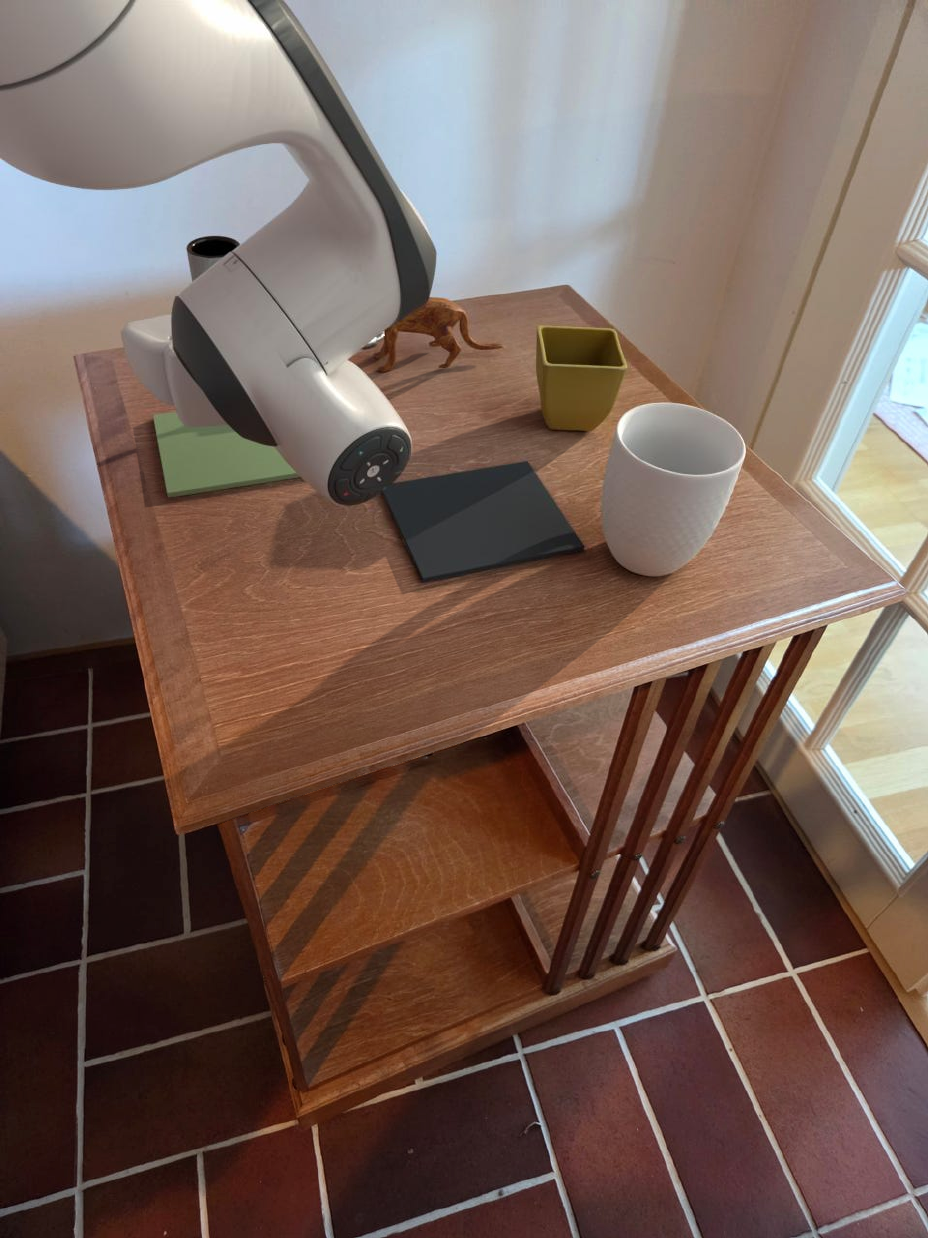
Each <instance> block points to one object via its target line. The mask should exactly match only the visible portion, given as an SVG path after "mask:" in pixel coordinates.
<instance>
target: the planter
mask: <svg viewBox="0 0 928 1238" xmlns="http://www.w3.org/2000/svg"><path fill="white" fill-rule="evenodd" d="M239 245H241V243H240V242H239V241H238V240H236V239H235V238H233V237H228V236H225V235H224V236H223V235H207V236H200V237H197V238H195V239H192V240H191V241H190V242H189V243H187V245H186V255H187V261H188V266H189V271H190V275H191V276H190V277H191V283H192V282H193V281H194V280H195V279H197V278H198V277H199V276H200V275H202V274H203V273H204V272H205V271H207V270H208V269H209V268H210V267H212V266H213V265H214V264H215V263H217V262H218V261H219V260H220V259H222V258H223V257H224V256H225V255H227V254H228V253H229V252H232V251H233V250H234V249H235V248H237V247H238V246H239Z"/></svg>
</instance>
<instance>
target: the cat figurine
mask: <svg viewBox="0 0 928 1238" xmlns="http://www.w3.org/2000/svg"><path fill="white" fill-rule="evenodd" d="M458 322H459V323H458ZM457 324H459V332H460V335H461V337H462V339H463V341H464V342H465V344H466V345H467V346H469V348H472V349H474V350H479V351H490V350H500V349H503V348H504V347H505V346H504V344H503V343H497V342H495V343H483V342H479V341H477V340H474V339H473V338H472V337H471V335H470V331H469V319H468V315H467V313H466V311H465V310H464V309H463V307H461V306H460V305H459V304H457V303H456V302H454V301H452V300H450V299H447V298H444V297H435V296H434V297H433V296H430V297H429V300H428V302H427V303H426V304H425V305H423V306H422V307H420V308H419V309H417V310H416V311H414V312H413V313H411V314H410V315H408V316H407V317H405V318H404V319H402V320H401V321H399V322H398V323H396V324H395V325H393V326H392V327H389V328H387V329H385V330H384V331H385V336H384V338H383V344H382V345H381V348H380V350H379V351H377V352H374V353H373V357H374V358H376V359H382V358H385V357H387V356H388V358H387V360H386V361H385V363H384V365H382V366H379V367H378V368H377V370H378V371H379V372H383V373H384V372H388V371H390V370H391V369H392V368H393V367H394V366H395V364H396V359H397V351H396V350H397V349H396V344H397V339H398V335H399V333H398V332H402V333H413V334H421V335H427V336H430V337H432V338H434V340H431V341H429V342H428V345H429V347H432V348H438V347H441V348H442V349H444V350H445V351H447V352H448V356H447V358H446V360H445V363H442V364H439V366H438V368H439V369H447V368H450V366H451V365H452V363H453V362H454V361H455V360H456V359H457V357H458V356H459V355H460V353H461V351H462V347H461V346H460V344H459V342H458V341H457V339H456V337H455V335H454V333H453V332H452V330H453V329H454V327H455V326H456V325H457Z"/></svg>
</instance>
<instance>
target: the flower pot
mask: <svg viewBox="0 0 928 1238" xmlns="http://www.w3.org/2000/svg"><path fill="white" fill-rule="evenodd" d="M535 343H536V349H535V350H536V352H535V372H536V380H537V387H538V392H539V398H540V405H541V412H542V416H543V419H544V421H545V424H546V425H547V428H548V429H550V430H554V431H555V430H556V431H581V432H582V431H583V432H592V431H594V430H595V429H596V428H598V427H599V426H600V425H601V424H602V423H603V422H605V420H607V418H608V417H609V415H610V413H611V412H612V410H613V408H614V406H615V404H616V401H617V398H618V395H619V393H620V390H621V387H622V385H623V382H624V379H625V376H626V373H627V370H628V364H627V360H626V359H625V356H624V353H623V351H622V348H621V344H620V340H619V336H618V333H617V331H616V329H615V328H609V327H608V328H607V327H604V328H603V327H585V326H564V325H563V326H562V325H538V326H537V327H536V342H535Z"/></svg>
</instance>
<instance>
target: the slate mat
mask: <svg viewBox="0 0 928 1238" xmlns="http://www.w3.org/2000/svg"><path fill="white" fill-rule="evenodd" d="M381 494H382V497H383V498H384V499H383V500H384V501H385V504H386V505H387V507H388V510H389V512H390V514H391V515H392V518H393V519H392V520H393V521H394V523H395V525H396V528H397V529H398V531H399V534H400V536H401V538H402V540H403V542H404V545H405V547H406V550H407V551H408V554H409V556H410V558H411V560H412V563H413V564H414V567H415V570H416V571H417V573H418V576H419V577H420V580H421V582H422V583H423V584H424V583H430V582H435V581H438V580H445V579H448V578H454V577H459V576H464V575H469V574H474V573H478V572H479V573H480V572H484V571H488V570H494V569H500V568H504V567H509V566H514V565H518V564H523V563H529V562H534V561H539V560H544V559H549V558H554V557H559V556H563V555H567V554H574V553H580V552H584V550H585V548H586V547H585V545H584V543H583V542H582V540H581V538H580V537H579V536H578V534H577V533H576V530H575V529H574V528H573V527H572V525H571V524H570V523H569V520H568V519H567V518H566V516H565V515H564V513H563V512H562V510H561V508H560V507H559V506H558V504H557V502H556V501H555V500H554V498H553V496H552V495H551V493H549V490H548V489H547V488H546V486H545V485H544V483H543V482H542V480H541V478H539V476H538V474H537V473H536V471H535V470H534V469H533V467H532V466H531V464H530V463H529V461H528V460H526V461H525V460H524V461H519V462H513V463H507V464H500V465H494V466H489V467H482V468H477V469H476V468H475V469H470V470H465V471H457V472H452V473H446V474H439V475H433V476H428V477H421V478H415V479H410V480H409V479H408V480H404V481H398V482H393V483H392V484H391V485H390V486H389V487H387V488H386V489H385V490H384V491H382V492H381Z"/></svg>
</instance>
